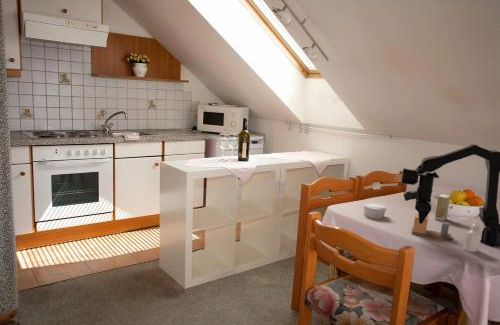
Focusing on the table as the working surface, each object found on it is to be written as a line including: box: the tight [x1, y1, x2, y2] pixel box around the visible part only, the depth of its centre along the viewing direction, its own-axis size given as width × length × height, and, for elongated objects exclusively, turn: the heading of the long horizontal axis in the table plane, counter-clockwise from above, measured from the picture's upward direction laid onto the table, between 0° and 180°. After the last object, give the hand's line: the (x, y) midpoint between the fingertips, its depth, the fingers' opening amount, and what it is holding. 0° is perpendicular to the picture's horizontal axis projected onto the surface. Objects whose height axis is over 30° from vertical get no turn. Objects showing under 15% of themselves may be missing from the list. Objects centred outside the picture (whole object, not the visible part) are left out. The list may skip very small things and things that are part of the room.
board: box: [411, 227, 453, 242], centre depth 179 cm, size 16×7×1 cm, turn 67°
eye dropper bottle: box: [464, 221, 482, 253], centre depth 163 cm, size 4×6×12 cm
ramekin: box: [363, 202, 387, 220], centre depth 203 cm, size 11×11×5 cm
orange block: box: [413, 213, 429, 234], centre depth 180 cm, size 5×5×7 cm
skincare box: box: [434, 193, 451, 222], centre depth 203 cm, size 6×4×12 cm
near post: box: [440, 221, 450, 237], centre depth 177 cm, size 3×3×6 cm
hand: (420, 220), depth 180 cm, fingers open, 9 cm apart
